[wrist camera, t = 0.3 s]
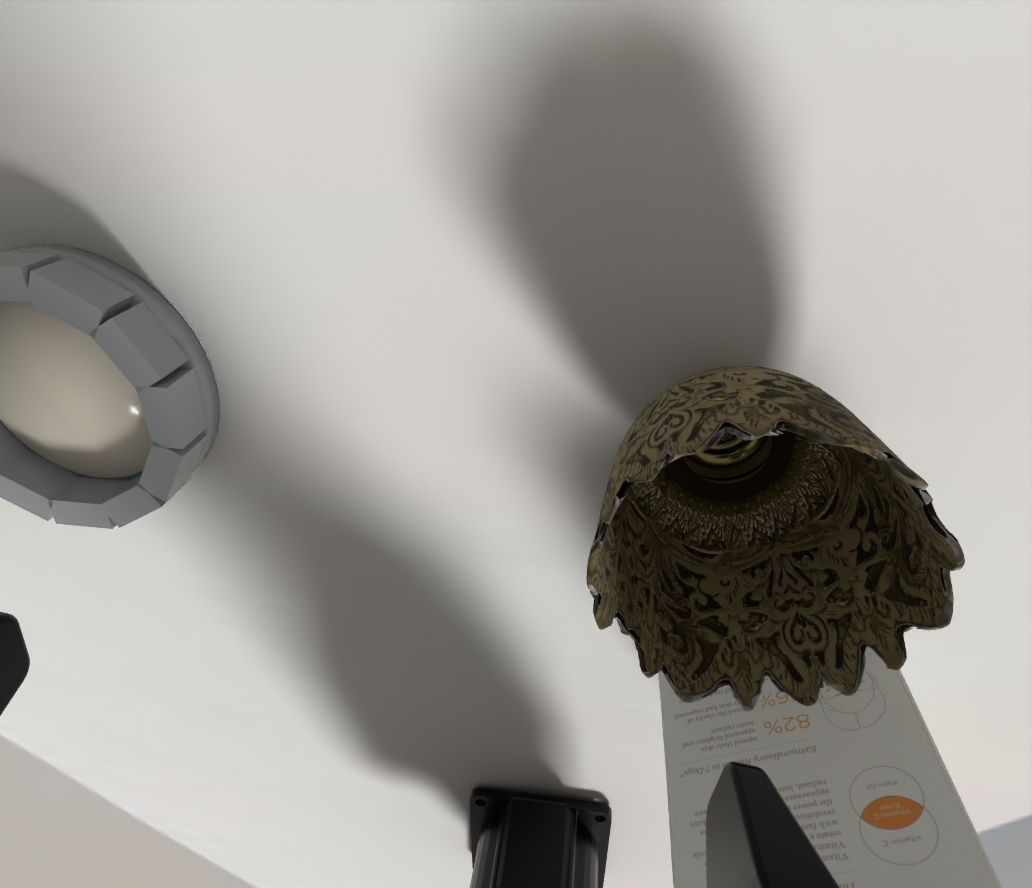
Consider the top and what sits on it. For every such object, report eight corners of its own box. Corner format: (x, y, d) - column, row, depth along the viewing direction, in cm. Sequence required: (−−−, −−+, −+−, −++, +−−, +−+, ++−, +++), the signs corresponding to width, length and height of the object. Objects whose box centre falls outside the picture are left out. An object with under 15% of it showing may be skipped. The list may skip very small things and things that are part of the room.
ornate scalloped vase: (553, 381, 21) (520, 537, 14) (780, 251, 18) (874, 367, 12) (670, 548, 24) (690, 749, 17) (885, 456, 21) (1014, 651, 14)
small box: (705, 746, 29) (743, 1067, 20) (654, 655, 26) (671, 967, 17) (910, 705, 26) (1065, 1054, 17) (872, 599, 24) (1027, 935, 15)
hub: (242, 496, 25) (206, 537, 23) (20, 477, 26) (-34, 515, 24) (185, 250, 21) (135, 273, 19) (-79, 238, 22) (-155, 259, 20)
